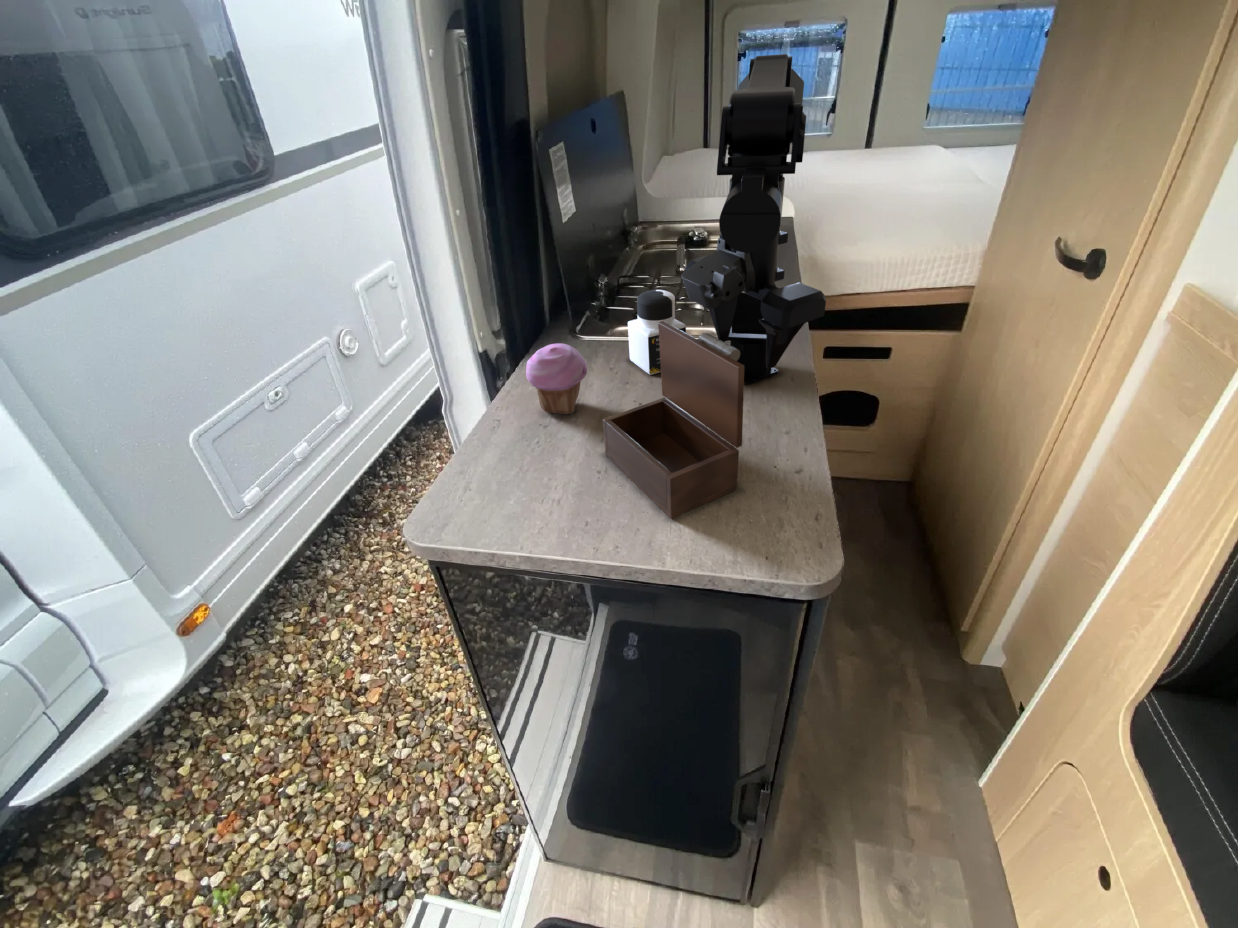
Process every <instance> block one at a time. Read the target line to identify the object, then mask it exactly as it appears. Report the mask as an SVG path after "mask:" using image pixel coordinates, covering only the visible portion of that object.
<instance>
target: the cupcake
mask: <svg viewBox="0 0 1238 928" xmlns="http://www.w3.org/2000/svg"><path fill="white" fill-rule="evenodd" d="M525 366H526V367H525V376H526V379H527V381H528V382H529V384H531V386H532V387H534V388H535V389H536V392H537V397H538V401H539V402H538V403H539V405H540V408H541V410H543V412H545V413H549V414H563V415H572V414H573V413H574V412H575V407H576V403H577V400H578V397H579V394H580V389H581V381H582V380H584V378H586V376H587V374H588V366H587V362H586V360H585V359H584V357H583V355H582V354H581V353H580V352H579V351H578V350H577V349H576V348H575V347H573V346H572V345H569V344H567V343H560V342H559V343H551V344H548V345H545V346H544V347H541V348H539V349H538V350H536V351H535V352H534V354H532V355H531V357H530V358H529V359H528V360H527V362H526V365H525Z"/></svg>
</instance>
